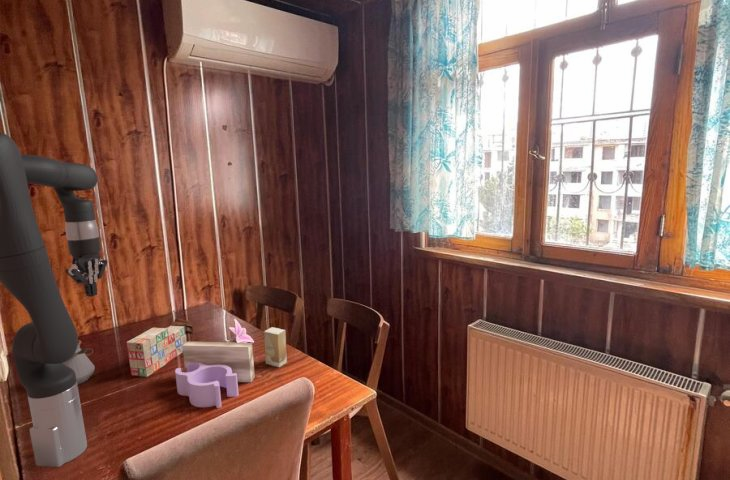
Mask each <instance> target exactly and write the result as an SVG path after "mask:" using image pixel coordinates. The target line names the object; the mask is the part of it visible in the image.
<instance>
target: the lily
mask: <svg viewBox="0 0 730 480" xmlns="http://www.w3.org/2000/svg"><path fill="white" fill-rule="evenodd" d="M234 323H235V327H234V326H233V327H232V326H229V327H228V329H229V330H231V331H232V332H233V334H235V339H234V340H233V341H232V342H233V343H235V341H236V343H255V341H254V339H253V338H252V336H250V335H249V334H247V329H246V328H245V327H242V326H241V324H240V323H239V322H238V320H237V319H236V318H234Z"/></svg>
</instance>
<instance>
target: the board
mask: <svg viewBox="0 0 730 480" xmlns="http://www.w3.org/2000/svg"><path fill="white" fill-rule="evenodd" d="M182 347H183V352H182V354H183V364H184V370H185V371H184V373H187V363H189V362H201V363H203V364H205V365H226V366H229V367H230V368H231V369H232V373H237V382H238V383H252V382H253V381H254V379H255V378H256V376H255V375H256V374H255V365H254V351H253V342H247V343H243V342H240V343H237V342H233V341H231V342H229V341H225V342H223V341H217V342H216V341H187V340H186V343H185V344H184V345H182Z"/></svg>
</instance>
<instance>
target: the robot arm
mask: <svg viewBox="0 0 730 480" xmlns="http://www.w3.org/2000/svg"><path fill="white" fill-rule="evenodd" d="M98 181H99V178H98V174H97V172H96V171H95V168H92V167H91V166H90V165H88V164H85V163H78V162H67V161H61V160H58V159H55V158H52V157H51V158H50V157H46V156H43V155H36V154H34V155H33V154H22V153H21V152H20V149H19V147H18V145H17V143H16V142H15V141H14V139H13V138H12V137H11V136H9V135H8V134H6V133H3V132H0V283H1V284H2V285H3V287H4V288H5V289H6V290H7V291H8V292H9V293H10V294H11V295H12V296H13V297H14V298H15V299H16V300H17V301H18V302H19V303H20V304H21V305H22V306H23V308H24V309H25V310H26V311H27V313H28V315H29V317H30V319H31V321H32V322H28V323H26V324H24V325H22V326H21V327H20V328H18V330H17V332H16V333H15V334H14V337H13V340H12V345H11V346H12V357H13V361H14V365H15V368H16V369H15V370H16V371H17V372H16V373H17V377H18V379H19V380H18V381H19V382H20V384H21V386H22V387H23V388H24V389H25V390H26V395H27V400H28V407H29V410H30V415H31V421H32V425H33V426H32V427H30V428H29V436H30V441H31V446H32V450H33V451H32V452H33V457H34V462H35V465H36V467H37V466H38V467H52V468H59V467H62V466H63V465H65V463H68V462H71V461H73V460H75V459H76V458H78V457H79V456H80V455H81V454H83V453H84V452H85V451H86V450H87V448H88V441H87V436H86V429H85V424H84V423H85V422H84V418H83V411H82V406H81V400H80V394H79V392H80V391H79V387H78V385H77V380H76V374H75V372H74V370H73V369H71V368H70V367H68V366H66V365H65V364H63V362H66V361H67V360H69V359H70V358H71V357H72V356H73V355H74V353H75V351H76V349H77V346H78V340H79V337H78V331H77V329H76V326H75V324H74V322H73V320H72V317H71V315H70V313H69V311H68V310H67V307H66V305H65V302H64V300H63V298H62V294H61V293H60V289H59V286H58V284H57V280H56V278H55V275H54V272H53V268H52V265H51V261H50V257H49V255H48V251H47V248H46V245H45V242H44V239H43V237H42V234H41V231H40V228H39V224H38V221H37V218H36V214H35V211H34V208H33V202H32V199H31V195H30V190H29V185H28V184H31V185H38V186H43V187H48V188H53V190H54V192H55V193H56V195H57V198H58V200H59V202H60V204H61V206H62V209H63V217H64V221H65V235H66V243H67V248H68V254H69V255H70V256H71V257H72V261H71V267H70V268H66V269H65V273H66V274H67V276H69V277H70V278H71V279H72V280H73V281H74V282H75V283H77V285H78V284H82V285H83V286H84V292H85V293H84V294H85V296H87V297H89V298H90V297H95V296H97V295H98V285H97V284H98V281H99V279H103V278H102V277H103V275H104V273H105V270H106V267H107V264H108V259H103V258H102V257H101V254H100V252H101V251H102V247H101V239H100V233H99V227H98V224H97V220H96V211H95V205H94V203H93V201H92V200H90V199H85V198H81V197H78V195H77V194H76V193H75V192H77V191H90V190H93V189H94V188H95V187H96V186H97V184H98Z"/></svg>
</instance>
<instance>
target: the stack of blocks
mask: <svg viewBox="0 0 730 480" xmlns="http://www.w3.org/2000/svg"><path fill="white" fill-rule="evenodd" d="M186 342H187V334H186V330H185V327H184V326H170V325H169V326H168V327H151V328H149V329H148V330H146V331H144V332H143V333H140V334H139V335H137V336H135V337H134V338H131V339H130V340H127V341H126V347H127V355H128V356H127V357H128V360H129V366H130V367H129V369H130V375H131V376H132V377H133V376H134V377H145V378H146V377H149V376H150V375H152V374H154V373H155V372H157V371H159V370H160V369H161V368H162V367H164V366H165V365H166V364H168V363H170V362H171V361H172V360H174V359H175V358H176V357H178V356H179V355H181V354H183V347H182V345H184V344H185V343H186Z"/></svg>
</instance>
